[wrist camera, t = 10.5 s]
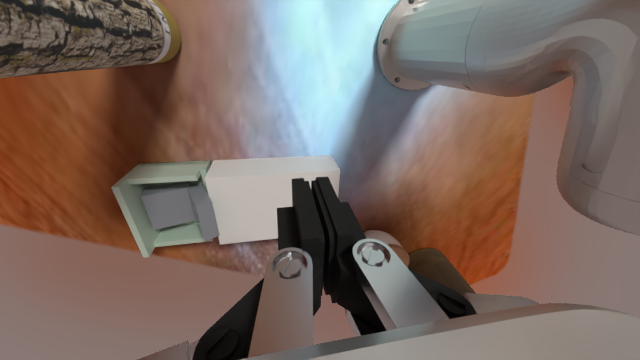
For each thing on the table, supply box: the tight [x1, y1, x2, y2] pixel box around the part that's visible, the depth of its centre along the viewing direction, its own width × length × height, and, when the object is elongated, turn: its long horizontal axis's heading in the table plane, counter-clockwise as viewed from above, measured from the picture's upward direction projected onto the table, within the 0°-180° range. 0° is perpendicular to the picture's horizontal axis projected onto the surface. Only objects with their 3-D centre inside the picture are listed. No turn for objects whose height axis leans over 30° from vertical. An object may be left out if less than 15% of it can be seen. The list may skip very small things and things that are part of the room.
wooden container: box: [407, 248, 476, 296], centre depth 51 cm, size 15×15×22 cm
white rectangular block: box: [205, 155, 340, 244], centre depth 38 cm, size 19×12×6 cm, turn 88°
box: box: [111, 161, 213, 257], centre depth 35 cm, size 10×12×7 cm
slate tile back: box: [141, 182, 196, 230], centre depth 36 cm, size 6×6×2 cm
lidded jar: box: [364, 230, 409, 267], centre depth 48 cm, size 11×11×9 cm
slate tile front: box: [187, 184, 220, 241], centre depth 34 cm, size 6×6×2 cm
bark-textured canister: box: [0, 0, 181, 78], centre depth 17 cm, size 7×7×25 cm
